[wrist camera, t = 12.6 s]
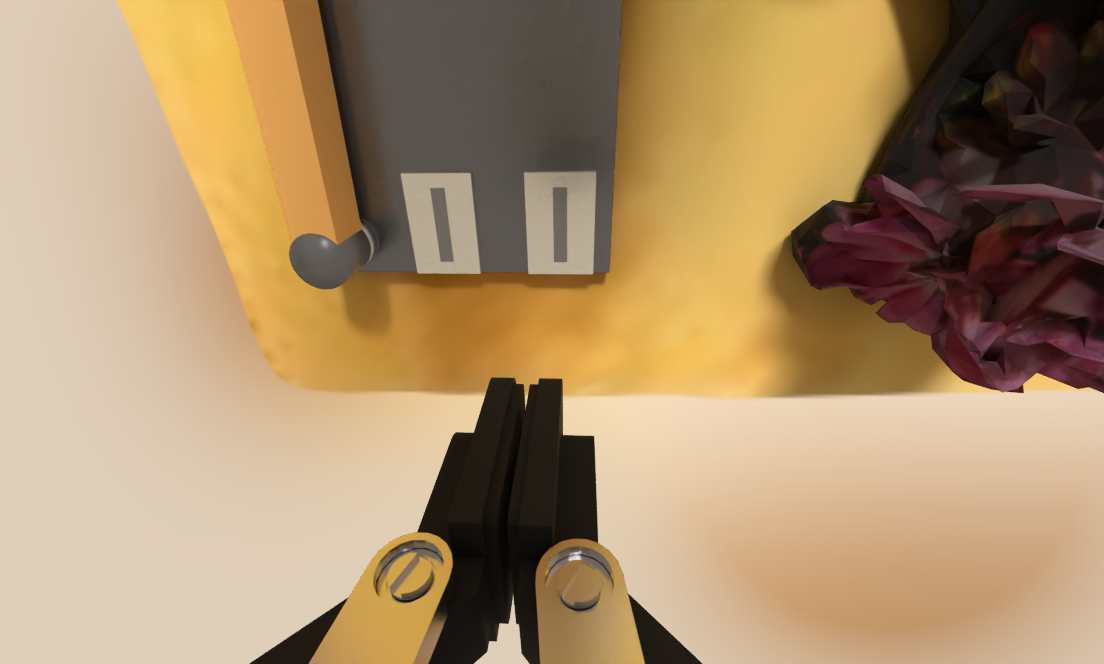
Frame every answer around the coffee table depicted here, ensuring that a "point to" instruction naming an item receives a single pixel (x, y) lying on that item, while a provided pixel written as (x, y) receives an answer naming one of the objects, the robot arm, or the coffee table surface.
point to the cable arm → (302, 135)
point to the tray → (479, 130)
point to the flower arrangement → (989, 201)
